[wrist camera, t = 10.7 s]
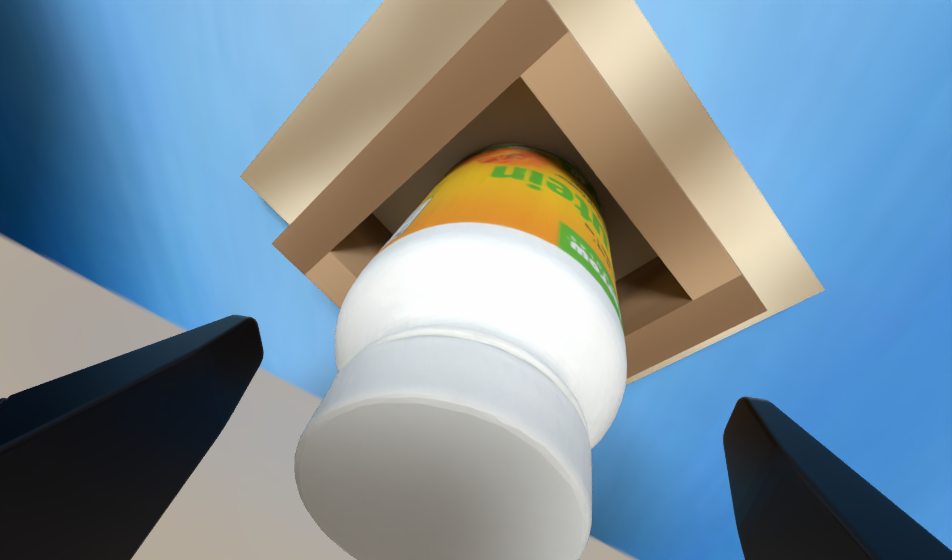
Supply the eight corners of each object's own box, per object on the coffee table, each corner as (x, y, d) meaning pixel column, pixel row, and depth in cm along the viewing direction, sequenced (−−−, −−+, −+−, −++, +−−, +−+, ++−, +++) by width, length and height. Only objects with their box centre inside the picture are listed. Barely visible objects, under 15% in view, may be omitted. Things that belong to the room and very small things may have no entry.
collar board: (261, 166, 16) (171, 207, 13) (527, -150, 11) (504, -236, 7) (513, 418, 20) (500, 506, 16) (807, 271, 15) (884, 352, 11)
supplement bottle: (644, 206, 13) (768, 516, 5) (537, 328, 16) (499, 664, 8) (487, 100, 13) (322, 246, 4) (402, 245, 15) (199, 511, 7)
